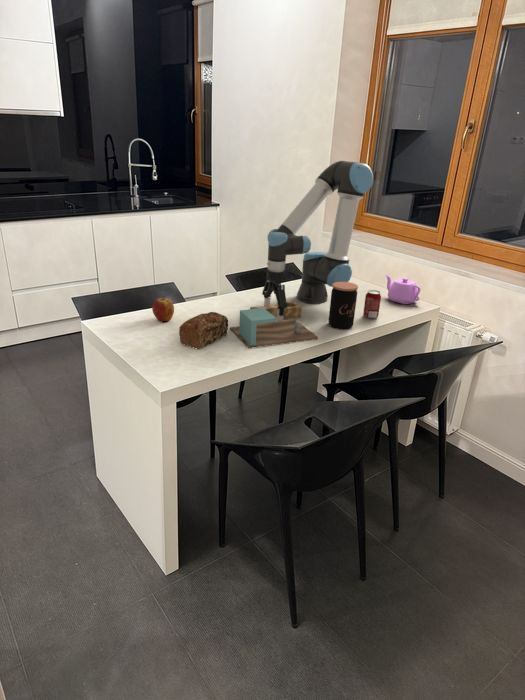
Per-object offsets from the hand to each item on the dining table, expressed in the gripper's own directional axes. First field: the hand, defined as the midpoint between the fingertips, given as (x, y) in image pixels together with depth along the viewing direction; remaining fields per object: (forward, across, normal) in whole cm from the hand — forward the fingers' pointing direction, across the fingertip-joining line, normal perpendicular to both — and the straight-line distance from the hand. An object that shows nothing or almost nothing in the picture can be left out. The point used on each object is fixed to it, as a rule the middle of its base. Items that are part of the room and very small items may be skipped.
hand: (273, 316), depth 218 cm
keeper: (0, +22, -17) cm, 28 cm away
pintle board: (0, +18, -8) cm, 20 cm away
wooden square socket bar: (0, 0, +1) cm, 1 cm away
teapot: (0, -3, +72) cm, 72 cm away
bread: (+1, +15, -36) cm, 39 cm away
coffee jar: (0, +18, +24) cm, 30 cm away
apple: (+1, -10, -46) cm, 47 cm away
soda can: (0, +13, +43) cm, 45 cm away
